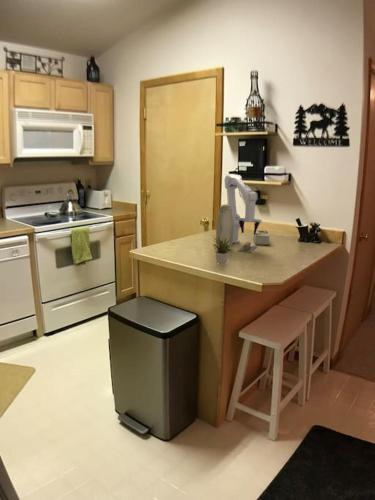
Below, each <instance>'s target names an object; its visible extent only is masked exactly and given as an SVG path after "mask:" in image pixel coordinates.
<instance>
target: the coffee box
mask: <svg viewBox="0 0 375 500" xmlns="http://www.w3.org/2000/svg"><path fill="white" fill-rule="evenodd" d="M253 241H254V245H257V246H259V245H263V246H264V245H265V246H268V245H270V234H269V232H268V231H267V230H256V234H254V233H253Z"/></svg>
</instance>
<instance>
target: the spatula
mask: <svg viewBox="0 0 375 500" xmlns="http://www.w3.org/2000/svg"><path fill="white" fill-rule="evenodd" d="M254 245H255V243H253V244H252V243H251V241H246V242H245V243H244V244H243V246H244V248H243V250H246V251H248V250H249V249H250V248H253V247H254Z"/></svg>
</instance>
